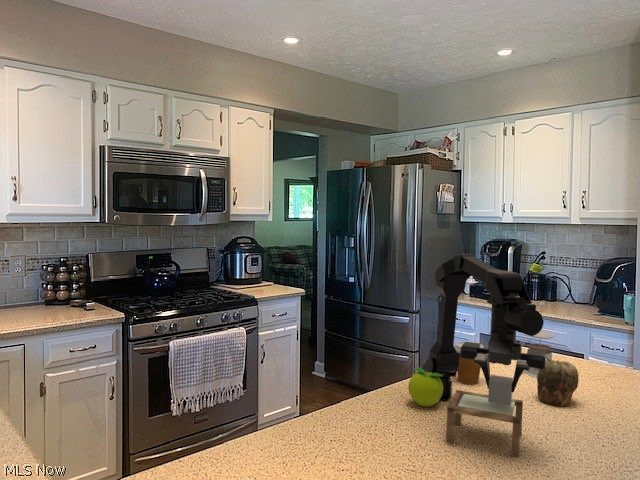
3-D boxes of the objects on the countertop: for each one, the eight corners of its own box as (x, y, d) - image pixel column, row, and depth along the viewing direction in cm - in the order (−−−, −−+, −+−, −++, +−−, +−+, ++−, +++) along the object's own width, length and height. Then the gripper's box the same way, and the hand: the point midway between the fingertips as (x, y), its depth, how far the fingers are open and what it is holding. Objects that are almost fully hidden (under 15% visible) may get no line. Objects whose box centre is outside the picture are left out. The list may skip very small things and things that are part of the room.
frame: (446, 442, 119) (447, 407, 119) (455, 422, 131) (456, 389, 130) (518, 457, 112) (520, 419, 112) (521, 434, 124) (522, 400, 124)
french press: (559, 379, 167) (563, 305, 166) (524, 378, 168) (527, 304, 166) (546, 370, 177) (550, 299, 176) (513, 369, 177) (516, 299, 176)
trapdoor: (456, 409, 120) (456, 405, 120) (462, 397, 128) (462, 393, 128) (512, 419, 114) (512, 415, 114) (514, 405, 123) (514, 401, 123)
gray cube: (488, 401, 118) (489, 380, 118) (490, 394, 123) (491, 374, 123) (510, 405, 116) (511, 384, 116) (512, 398, 121) (513, 377, 121)
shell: (582, 410, 141) (584, 368, 140) (540, 406, 143) (542, 364, 142) (571, 396, 151) (573, 357, 151) (532, 393, 154) (534, 354, 153)
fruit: (419, 396, 149) (420, 363, 148) (447, 405, 142) (448, 370, 142) (401, 404, 142) (402, 369, 142) (430, 414, 136) (431, 377, 135)
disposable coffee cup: (477, 376, 168) (478, 341, 168) (487, 386, 159) (489, 349, 158) (449, 376, 168) (450, 341, 167) (458, 386, 158) (459, 348, 158)
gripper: (457, 327, 115) (455, 394, 116) (546, 337, 108) (543, 409, 108) (464, 318, 125) (462, 380, 126) (546, 327, 118) (543, 392, 119)
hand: (500, 390), depth 120 cm, fingers closed on gray cube, 5 cm apart
